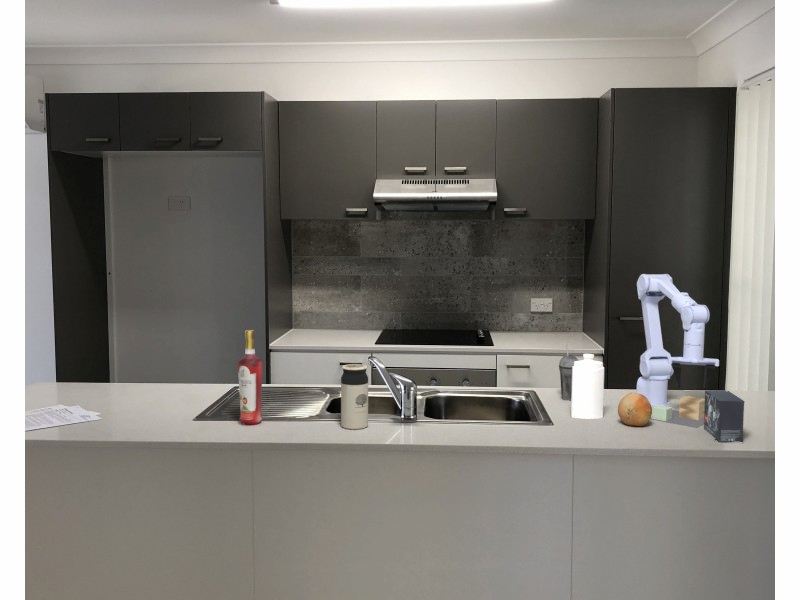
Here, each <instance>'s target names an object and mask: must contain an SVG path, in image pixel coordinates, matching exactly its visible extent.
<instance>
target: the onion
mask: <svg viewBox="0 0 800 600" xmlns="http://www.w3.org/2000/svg"><path fill="white" fill-rule="evenodd" d="M652 407H653V406H652V405H651V404H650V402H649V401H648V399H647V398H646V397H645V396H644V395H642V394H639V393H637V392H629V393H627V394H626V395H624V396H623V397H622V398H621V399H620V400H619V403H618V406H617V415H618V417H619V418H620V420H621V421H622V423H624V424H625V425H626V426H631V427H632V426H633V427H644V426H646V425H647V424H648V423H649V421H651V420H650V418H651V417H652Z"/></svg>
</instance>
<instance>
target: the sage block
mask: <svg viewBox="0 0 800 600" xmlns="http://www.w3.org/2000/svg"><path fill="white" fill-rule="evenodd" d="M651 407H652V415H651V417H652V419H657V420H662V421H668V420H670V419H672V410H673V407H672V406H668V405H666V406H661V405H657V406H651Z"/></svg>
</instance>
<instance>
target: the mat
mask: <svg viewBox="0 0 800 600" xmlns="http://www.w3.org/2000/svg"><path fill="white" fill-rule="evenodd" d="M649 421H654V422H655V421H657V422H662V423H665V424H666V423H668V424H673V425H677V426H684V427H689V428H695V429H698V428H701V427H702V426H704V418H702V419H700V420H695V419H689V418H683V417H679V410H676V409H675V410H674V409H672V419H670V420H668V421H662V420H657V419H652V416H651V418H650V420H649Z"/></svg>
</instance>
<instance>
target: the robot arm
mask: <svg viewBox="0 0 800 600" xmlns="http://www.w3.org/2000/svg"><path fill="white" fill-rule="evenodd" d="M673 282H674V281H673V277H672V276H671V275H670V274H668V273H663V274H653V273H651V274H647V273H642V274H640V275H639V277H638V279H637V281H636V287H637V289H636V290H637V296H638V300H640V301H641V303H640V304H641V309H642V318H643V319H642V320H643V327H644V328H643V329H644V335H645V342H646V343H645V344H646V350H645V351H644V352H643V353H642V354H641V355H640V358H639V360H640V361H639V371H640V374H641V375H642V376H640V377H638V379H637V382H636V393H639V394H642V395H644V396H645V397H646V398H647V399H648V401H649V402H650V404H651V407H654V406H657V405H661V406H669V405H670V404H672V402H670V401H668V386H669V385H668V384H669V383H668V382H669V380H670V379H671V377H672V375H674V376H675V380H676V388H677V389H678V388H679V389H681V374H682V372H681V371H682V366H681V365H689V366H690V365H691V366H692V365H693V366H703V367H704V368H703V369H704V371H703V372H704V374H703V375H704V377H703V389H704V390H708V386H709V382H710V380H711V378H712V376H713V374H714V372H715V371H716V367H719V366H720V360H719V359H718V358H707V357H704V348H705V347H704V346H705V327H706V324H707V323H708V322H709V320H710V315H711V314H710V310H709V308H708V306H707V305H705V304H698V303H697V302H696V301H695V300H694V299H693V298H692V297H690V296H689V293H688V292H683V291H682V292H680V290H679V289H678V288H677V287H676V285H675V284H674V283H673ZM665 297H667V298H669V299H670V301H671V302H670V303H671V306H672V307H673V308H674V309H675V310H676V312H678V313H679V314H680V318H681V319H680V320H681V321H682V329H683V331H684V333H683V352H682V353H683V354H682V355H683V356H671V353H670V352H668V351H667V350H666V349H664V345H663V337H662V329H661V327H662V326H661V321H660V320H661V319H660V313H659V302H660V301H661V300H663V299H664V298H665Z"/></svg>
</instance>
